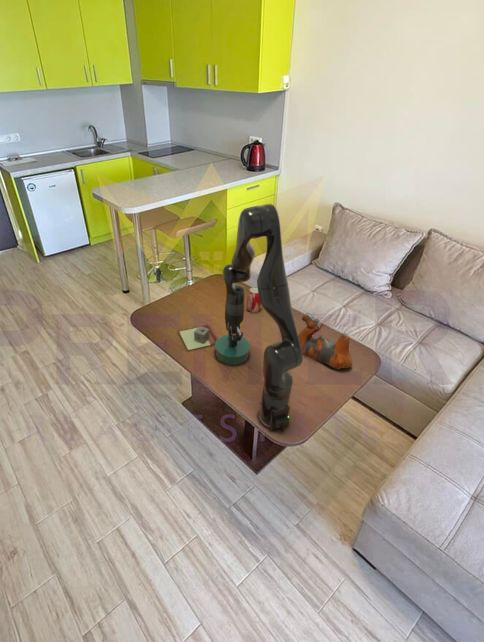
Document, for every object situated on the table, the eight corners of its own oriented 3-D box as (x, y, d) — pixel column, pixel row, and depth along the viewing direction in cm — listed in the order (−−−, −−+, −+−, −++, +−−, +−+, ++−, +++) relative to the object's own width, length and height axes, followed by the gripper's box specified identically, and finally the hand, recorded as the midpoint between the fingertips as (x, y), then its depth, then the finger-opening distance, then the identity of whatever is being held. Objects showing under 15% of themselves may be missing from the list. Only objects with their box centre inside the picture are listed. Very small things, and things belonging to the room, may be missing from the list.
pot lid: (255, 354, 153) (257, 341, 149) (222, 362, 148) (223, 349, 144) (240, 333, 164) (241, 321, 161) (210, 340, 160) (210, 328, 156)
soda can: (259, 314, 184) (261, 294, 178) (245, 312, 185) (247, 292, 179) (261, 307, 190) (263, 287, 183) (247, 305, 191) (249, 285, 184)
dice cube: (203, 344, 164) (203, 335, 161) (194, 340, 166) (194, 331, 163) (209, 338, 167) (209, 329, 164) (199, 334, 169) (199, 325, 167)
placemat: (218, 343, 165) (218, 343, 164) (188, 350, 160) (188, 349, 160) (207, 326, 176) (207, 325, 175) (179, 332, 171) (179, 331, 171)
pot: (253, 361, 155) (254, 352, 152) (223, 369, 151) (223, 360, 148) (240, 341, 166) (240, 333, 163) (211, 348, 162) (211, 339, 159)
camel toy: (355, 366, 153) (365, 333, 144) (335, 379, 146) (345, 345, 137) (309, 336, 170) (315, 304, 161) (289, 346, 163) (294, 314, 154)
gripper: (219, 302, 150) (218, 335, 159) (233, 321, 139) (231, 355, 148) (236, 299, 152) (234, 332, 162) (250, 317, 141) (247, 351, 151)
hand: (232, 343), depth 155 cm, fingers closed on pot lid, 3 cm apart
